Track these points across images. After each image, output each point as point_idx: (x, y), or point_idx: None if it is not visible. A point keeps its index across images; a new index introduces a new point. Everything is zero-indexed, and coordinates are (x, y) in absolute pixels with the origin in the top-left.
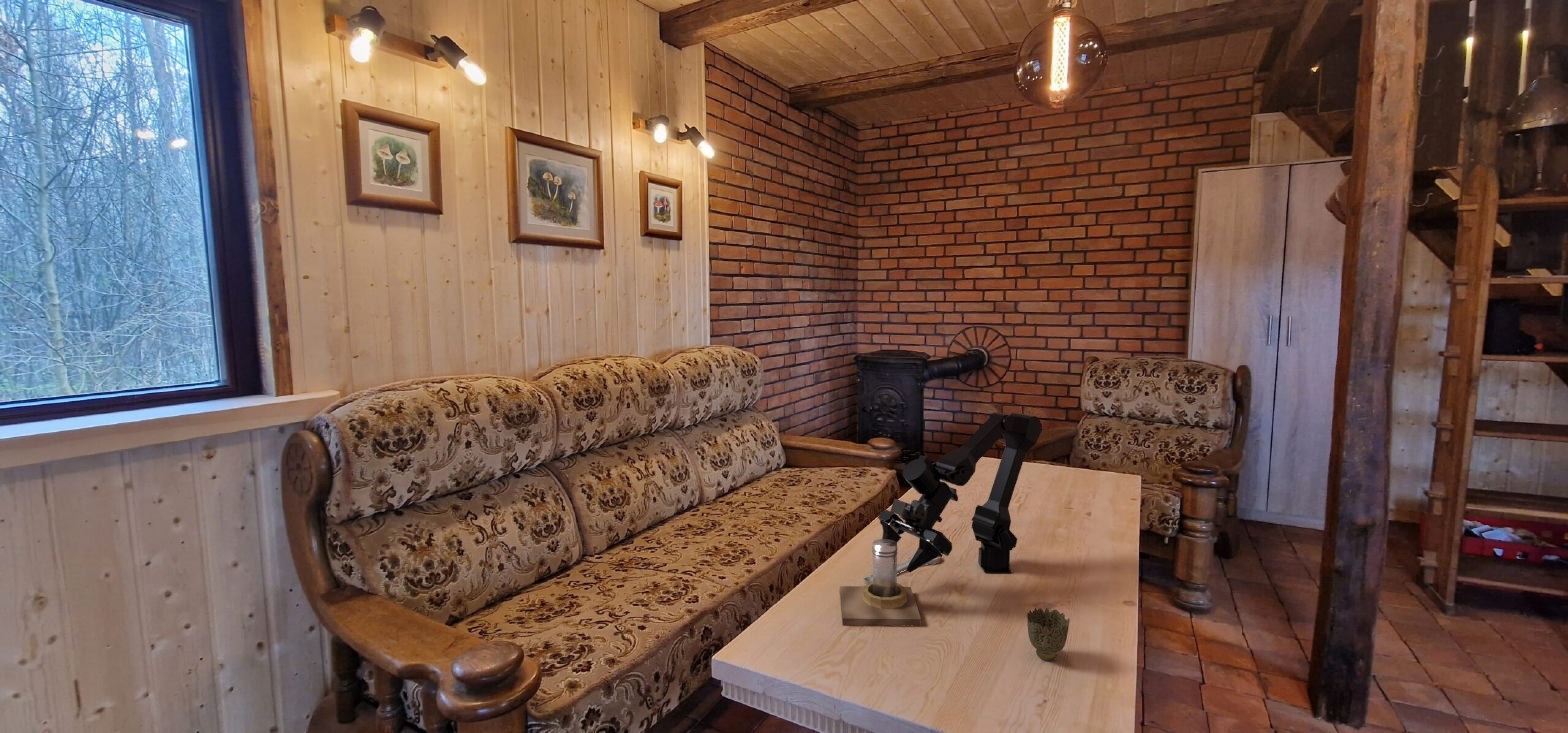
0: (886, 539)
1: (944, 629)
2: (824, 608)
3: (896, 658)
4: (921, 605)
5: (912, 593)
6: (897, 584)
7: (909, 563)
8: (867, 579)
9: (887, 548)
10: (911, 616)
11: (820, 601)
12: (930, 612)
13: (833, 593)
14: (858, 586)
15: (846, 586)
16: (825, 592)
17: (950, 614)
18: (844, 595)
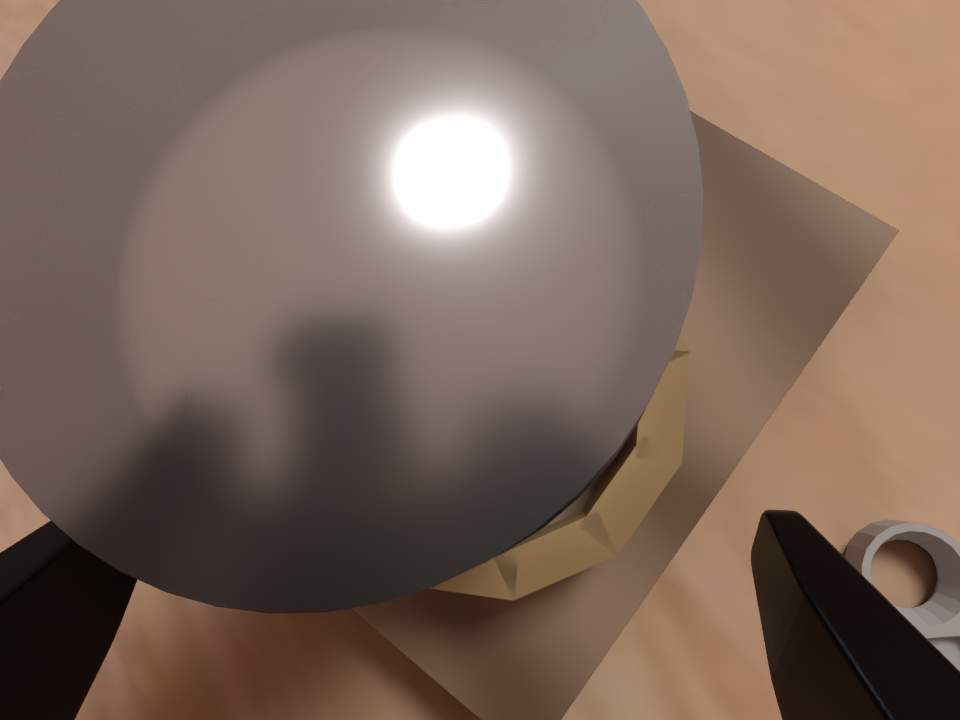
0: (516, 472)
1: (20, 500)
2: (704, 23)
3: (13, 53)
4: (331, 638)
5: (422, 666)
6: (496, 572)
7: (49, 551)
8: (948, 591)
9: (32, 61)
10: None
11: (815, 52)
12: (219, 607)
13: (883, 202)
14: (804, 363)
15: (860, 274)
16: (934, 160)
17: (111, 706)
18: (720, 164)
